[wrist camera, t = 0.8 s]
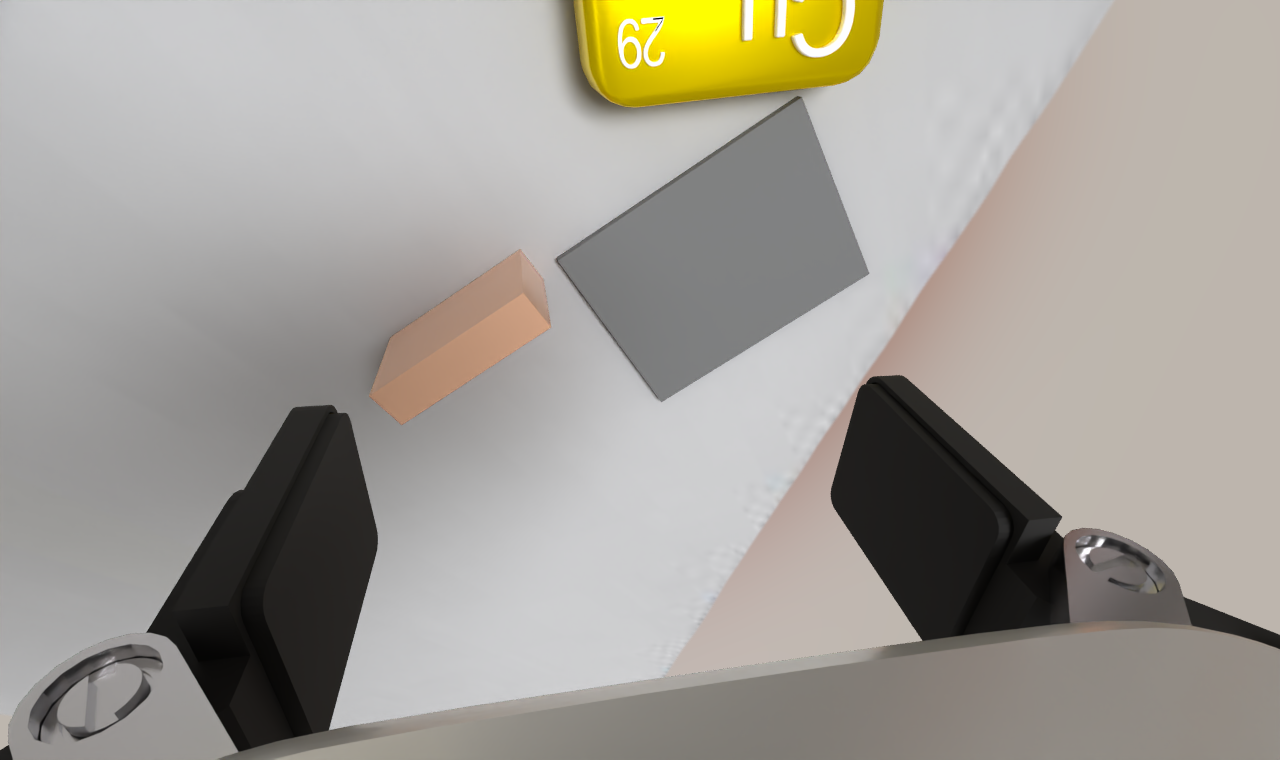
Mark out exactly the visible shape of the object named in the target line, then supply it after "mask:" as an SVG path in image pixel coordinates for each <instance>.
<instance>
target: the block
mask: <svg viewBox="0 0 1280 760" xmlns="http://www.w3.org/2000/svg"><path fill="white" fill-rule="evenodd" d="M549 328H551V323H550V317H549V310H548V304H547V298H546V291H545V285H544V279H543V278H542V277H541V275H540V274H539V273H538V271H537V270H536V269H535V268H534V266H533V265H532V264H531V262H530V261H529V260H528V258H527V257H526V256H525V254H524V253H523V252H522V251H521V249H519V250H518V251H517V252H515V253H514V254H512V255H511V256H509V257H508V258H506V259H505V260H503V261H502V262H500V263H499V264H497V265H496V266H494V267H493V268H492V269H490V270H489V271H487V272H486V273H484V274H483V275H481V276H480V277H478V278H477V279H475V280H474V281H472V282H471V283H469V284H468V285H467V286H465V287H464V288H462V289H461V290H459V291H458V292H456V293H455V294H453V295H452V296H450V297H449V298H447V299H446V300H445V301H443V302H442V303H440V304H439V305H437V306H436V307H434V308H433V309H431V310H430V311H428V312H427V313H425V314H424V315H422V316H421V317H420V318H418V319H417V320H415V321H414V322H412V323H411V324H409V325H408V326H406V327H405V328H403V329H402V330H400V331H399V332H397V333H396V334H395V335H393V336H392V337H390V340H389V342H388V345H387V348H386V351H385V353H384V356H383V359H382V362H381V364H380V367H379V370H378V373H377V375H376V378H375V381H374V383H373V386H372V389H371V392H370V394H369V397H371V398H372V399H373V400H374V401H375V402H376V403H377V404H378V405H380V406H381V407H382V408H383V409H384V410H385V411H386V412H387V413H389V414H390V415H391V416H392V417H393V418H394V419H395V420H396V421H398V422H399V423H400V424H401V425H403V424H404V423H406V422H407V421H409V420H410V419H412V418H413V417H415V416H416V415H418V414H419V413H421V412H423V411H424V410H426V409H427V408H429V407H430V406H432V405H433V404H435V403H436V402H438V401H439V400H441V399H442V398H444V397H445V396H447V395H449V394H450V393H452V392H453V391H455V390H456V389H458V388H459V387H461V386H462V385H464V384H465V383H467V382H468V381H470V380H471V379H473V378H474V377H476V376H478V375H479V374H481V373H482V372H484V371H485V370H487V369H488V368H490V367H491V366H493V365H494V364H496V363H497V362H499V361H500V360H502V359H504V358H505V357H507V356H508V355H510V354H511V353H513V352H514V351H516V350H517V349H519V348H520V347H522V346H523V345H525V344H526V343H528V342H529V341H531V340H533V339H534V338H536V337H537V336H539V335H540V334H542V333H543V332H545V331H546V330H548V329H549Z"/></svg>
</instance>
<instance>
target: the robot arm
mask: <svg viewBox="0 0 1280 760" xmlns="http://www.w3.org/2000/svg"><path fill="white" fill-rule="evenodd" d="M831 500H832V504H833V507H834V508H835V510H836V512H837V513H838V515H839V516H840V517H841V519H842V521H843V522H844V524H845V525H846V527H847V528H848V530H849V531H850V533H851V534H852V536H853V537H854V539H855V540H856V542H857V543H858V545H859V546H860V548H861V549H862V550H863V552H864V554H865V555H866V557H867V558H868V560H869V561H870V563H871V564H872V566H873V567H874V569H875V570H876V572H877V573H878V575H879V576H880V578H881V579H882V580H883V582H884V584H885V585H886V586H887V588H888V590H889V591H890V593H891V594H892V596H893V597H894V599H895V600H896V602H897V603H898V605H899V606H900V608H901V609H902V611H903V612H904V614H905V615H906V617H907V618H908V620H909V621H910V623H911V624H912V626H913V627H914V629H915V630H916V632H917V633H918V635H919V636H920V637H921V639H922V641H920V642H912V643H905V644H897V645H890V646H883V647H876V648H868V649H861V650H854V651H846V652H839V653H832V654H825V655H819V656H811V657H804V658H797V659H790V660H783V661H776V662H769V663H762V664H755V665H748V666H741V667H734V668H727V669H720V670H714V671H706V672H699V673H692V674H685V675H678V676H671V677H664V678H657V679H651V680H644V681H637V682H630V683H623V684H617V685H610V686H603V687H597V688H590V689H583V690H576V691H570V692H563V693H556V694H550V695H543V696H536V697H529V698H523V699H516V700H509V701H503V702H496V703H489V704H483V705H476V706H469V707H463V708H457V709H451V710H445V711H439V712H433V713H427V714H421V715H415V716H409V717H403V718H397V719H390V720H384V721H378V722H372V723H366V724H360V725H354V726H348V727H343V728H338V729H333V730H329V727H330V723H331V720H332V716H333V712H334V708H335V705H336V701H337V697H338V694H339V690H340V686H341V682H342V679H343V675H344V671H345V668H346V664H347V660H348V656H349V653H350V649H351V645H352V642H353V638H354V634H355V630H356V627H357V623H358V619H359V615H360V612H361V608H362V604H363V601H364V597H365V593H366V589H367V586H368V582H369V578H370V575H371V571H372V567H373V563H374V560H375V556H376V552H377V545H378V534H377V528H376V524H375V520H374V516H373V512H372V508H371V503H370V499H369V495H368V491H367V487H366V483H365V479H364V475H363V471H362V466H361V462H360V458H359V454H358V450H357V446H356V442H355V438H354V434H353V430H352V425H351V421H350V418H349V416H348V414H346V413H337V410H336V409H335V407H334V406H332V405H324V406H305V407H295V408H293V409H292V410H291V411H290V413H289V415H288V417H287V418H286V420H285V422H284V423H283V425H282V427H281V428H280V430H279V432H278V433H277V435H276V437H275V438H274V440H273V442H272V443H271V445H270V447H269V448H268V450H267V452H266V454H265V455H264V457H263V459H262V460H261V462H260V464H259V465H258V467H257V469H256V470H255V472H254V474H253V475H252V477H251V479H250V480H249V482H248V484H247V485H246V487H245V489H244V490H239V491H237V492H235V493H234V494H233V495H232V496H231V497H230V498H229V500H228V501H227V503H226V504H225V506H224V507H223V509H222V511H221V512H220V514H219V516H218V517H217V519H216V520H215V522H214V524H213V525H212V527H211V528H210V530H209V532H208V533H207V535H206V537H205V538H204V540H203V541H202V543H201V545H200V546H199V548H198V550H197V551H196V553H195V554H194V556H193V558H192V559H191V561H190V563H189V564H188V566H187V567H186V569H185V571H184V572H183V574H182V576H181V577H180V579H179V580H178V582H177V584H176V585H175V587H174V589H173V590H172V592H171V593H170V595H169V597H168V598H167V600H166V602H165V603H164V605H163V606H162V608H161V610H160V611H159V613H158V615H157V616H156V618H155V619H154V621H153V623H152V624H151V626H150V628H149V629H148V631H147V632H146V633H135V634H127V635H123V636H119V637H116V638H112V639H108V640H105V641H103V642H100V643H98V644H96V645H94V646H91V647H89V648H87V649H85V650H82V651H80V652H79V653H77V654H76V655H74V656H72V657H71V658H69V659H68V660H66V661H64V662H63V663H61V664H59V665H58V666H56V667H55V668H54V669H53V670H52V671H50V672H49V673H48V674H47V675H46V676H45V677H43V678H42V679H41V680H40V681H39V682H37V683H36V684H35V685H34V686H33V688H32V689H31V690H30V691H29V692H28V694H27V695H26V696H25V697H24V698H23V700H22V701H21V702H20V703H19V704H18V706H17V708H16V710H15V712H14V715H13V717H12V719H11V721H10V723H9V729H8V744H9V745H8V746H6V747H5V748H3V749H2V750H0V760H1280V635H1278V634H1276V633H1274V632H1271V631H1269V630H1266V629H1263V628H1261V627H1258V626H1256V625H1253V624H1251V623H1248V622H1246V621H1243V620H1241V619H1238V618H1235V617H1233V616H1230V615H1228V614H1225V613H1223V612H1220V611H1218V610H1215V609H1213V608H1210V607H1208V606H1205V605H1203V604H1200V603H1198V602H1195V601H1192V600H1190V599H1187V598H1185V597H1183V594H1182V591H1181V588H1180V584H1179V582H1178V580H1177V578H1176V576H1175V575H1174V573H1173V571H1172V570H1171V569H1170V568H1169V567H1168V566H1167V565H1166V564H1165V563H1164V562H1163V561H1162V560H1161V559H1160V558H1158V557H1157V556H1156V555H1154V554H1153V553H1152V552H1150V551H1149V550H1148V549H1146V548H1144V547H1142V546H1141V545H1139V544H1137V543H1135V542H1133V541H1132V540H1130V539H1127V538H1124V537H1122V536H1120V535H1117V534H1114V533H1111V532H1107V531H1104V530H1100V529H1092V528H1080V529H1075V530H1072V531H1070V532H1069V533H1068V534H1067V535H1065V537H1064V538H1063V537H1061V536H1060V535H1059V534H1058V533H1057V532H1056V531H1055V529H1056V527H1057V526H1058V524H1059V522H1060V520H1061V518H1062V516H1061V515H1060V514H1059V513H1057V512H1056V511H1055V510H1054V509H1053V508H1052V507H1051V506H1049V505H1048V504H1047V503H1046V502H1045V501H1044V500H1043V499H1042V498H1040V497H1039V496H1038V495H1037V494H1036V493H1035V492H1034V491H1033V490H1031V489H1030V488H1029V487H1028V486H1027V485H1026V484H1024V482H1023V481H1021V480H1020V479H1019V478H1018V477H1017V476H1016V475H1015V474H1013V473H1012V472H1011V471H1010V470H1009V469H1008V468H1007V467H1005V465H1003V464H1002V463H1001V462H1000V461H999V460H998V459H997V458H996V457H994V456H993V455H992V454H991V453H990V452H989V451H988V450H987V449H985V448H984V447H983V446H982V445H981V444H980V443H979V442H978V441H976V440H975V439H974V438H973V437H972V436H971V435H969V433H967V432H966V431H965V430H964V429H963V428H961V426H960V425H958V424H957V423H956V422H955V421H954V420H953V419H952V418H951V417H949V416H948V415H947V414H946V413H945V412H943V410H942V409H940V408H939V407H938V406H937V405H936V404H935V403H934V402H933V401H931V400H930V399H929V398H928V397H927V396H926V395H925V394H924V393H923V392H921V391H920V390H919V389H918V388H917V387H916V386H915V385H913V384H912V383H911V382H910V381H909V380H908V379H907V378H905V377H904V376H900V375H895V376H877V377H872V378H870V379H869V380H868V381H867V383H866V384H864V385H862V386H861V387H860V389H859V391H858V394H857V398H856V402H855V405H854V409H853V413H852V416H851V420H850V423H849V427H848V430H847V434H846V438H845V441H844V445H843V449H842V452H841V456H840V459H839V463H838V466H837V470H836V474H835V477H834V481H833V484H832V488H831Z"/></svg>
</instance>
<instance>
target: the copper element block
mask: <svg viewBox="0 0 1280 760" xmlns="http://www.w3.org/2000/svg"><path fill="white" fill-rule="evenodd" d="M573 1H574V10H575V19H576V27H577V36H578V45H579V53H580V62H581V66H582V69H583V72H584V74H585V76H586V78H587V80H588V82H589V84H590V86H592V87H593V88H594V89H595V90H596V91H597V92H598V93H599V94H600V95H602V96H603V97H604V98H606V99H607V100H609V101H610V102H612V103H615V104H618V105H621V106H624V107H635V108H637V107H646V106H655V105H664V104H673V103H682V102H691V101H699V100H708V99H717V98H726V97H735V96H744V95H753V94H762V93H771V92H780V91H789V90H798V89H807V88H816V87H825V86H834V85H837V84H841V83H844V82H847V81H849V80H850V79H852V78H854V77H855V76H857V75H859V74H860V73H861V72H862V71H863V69H864V68H865V67H866V66H867V65H868V64H869V62H870V60H871V58H872V56H873V53H874V51H875V49H876V47H877V43H878V40H879V36H880V27H881V19H882V11H883V2H884V0H573Z"/></svg>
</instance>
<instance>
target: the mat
mask: <svg viewBox="0 0 1280 760" xmlns="http://www.w3.org/2000/svg"><path fill="white" fill-rule="evenodd" d="M557 260H558V262H559V263H560V265H561V266H562V268H563V269H564V270H565V272H566V273H567V274H568V276H569V277H570V278H571V280H572V281H573V283H574V284H575V285H576V287H577V288H578V289H579V291H580V292H581V293H582V295H583V296H584V298H585V299H586V300H587V302H588V303H589V304H590V306H591V307H592V308H593V310H594V311H595V313H596V314H597V315H598V317H599V318H600V319H601V321H602V322H603V323H604V325H605V326H606V327H607V329H608V330H609V332H610V333H611V334H612V336H613V337H614V338H615V340H616V341H617V342H618V344H619V345H620V347H621V348H622V349H623V351H624V352H625V353H626V355H627V356H628V357H629V359H630V360H631V362H632V363H633V364H634V366H635V367H636V368H637V370H638V371H639V372H640V374H641V375H642V377H643V378H644V379H645V381H646V382H647V383H648V385H649V386H650V387H651V389H652V390H653V391H654V393H655V394H656V396H657V397H658V398H659V400H660V401H661V402H662V401H664V400H666V399H667V398H669V397H671V396H672V395H674V394H675V393H677V392H679V391H680V390H682V389H683V388H685V387H687V386H688V385H690V384H692V383H693V382H695V381H696V380H698V379H700V378H701V377H703V376H705V375H706V374H708V373H709V372H711V371H713V370H714V369H716V368H717V367H719V366H721V365H722V364H724V363H726V362H727V361H729V360H730V359H732V358H734V357H735V356H737V355H739V354H740V353H742V352H743V351H745V350H747V349H748V348H750V347H751V346H753V345H755V344H756V343H758V342H760V341H761V340H763V339H764V338H766V337H768V336H769V335H771V334H773V333H774V332H776V331H777V330H779V329H781V328H782V327H784V326H785V325H787V324H789V323H790V322H792V321H794V320H795V319H797V318H798V317H800V316H802V315H803V314H805V313H807V312H808V311H810V310H811V309H813V308H815V307H816V306H818V305H819V304H821V303H823V302H824V301H826V300H828V299H829V298H831V297H832V296H834V295H836V294H837V293H839V292H841V291H842V290H844V289H845V288H847V287H849V286H850V285H852V284H853V283H855V282H857V281H858V280H860V279H862V278H863V277H865V276H866V275H868V274H869V272H868V269H867V266H866V264H865V261H864V258H863V256H862V253H861V251H860V248H859V245H858V243H857V240H856V238H855V235H854V232H853V230H852V227H851V224H850V222H849V219H848V217H847V214H846V211H845V209H844V206H843V204H842V201H841V198H840V196H839V193H838V190H837V188H836V185H835V183H834V180H833V177H832V175H831V172H830V170H829V167H828V164H827V162H826V159H825V156H824V154H823V151H822V149H821V146H820V143H819V141H818V138H817V136H816V133H815V130H814V128H813V125H812V122H811V120H810V117H809V115H808V112H807V109H806V107H805V104H804V102H803V99H802V97H799V96H797V97H796V98H794V99H793V100H791V101H790V102H788V103H787V104H785V105H784V106H782V107H781V108H779V109H778V110H776V111H775V112H773V113H772V114H770V115H769V116H767V117H766V118H764V119H763V120H761V121H760V122H758V123H757V124H755V125H754V126H752V127H751V128H749V129H748V130H746V131H745V132H743V133H742V134H741V135H739V136H738V137H736V138H735V139H733V140H732V141H730V142H729V143H727V144H726V145H724V146H723V147H721V148H720V149H718V150H717V151H715V152H714V153H712V154H711V155H709V156H708V157H706V158H705V159H703V160H702V161H700V162H699V163H697V164H696V165H694V166H693V167H691V168H690V169H688V170H687V171H685V172H684V173H682V174H681V175H679V176H678V177H676V178H675V179H674V180H672V181H671V182H669V183H668V184H666V185H665V186H663V187H662V188H660V189H659V190H657V191H656V192H654V193H653V194H651V195H650V196H648V197H647V198H645V199H644V200H642V201H641V202H639V203H638V204H636V205H635V206H633V207H632V208H630V209H629V210H627V211H626V212H624V213H623V214H621V215H620V216H618V217H617V218H615V219H614V220H612V221H611V222H609V223H608V224H606V225H605V226H604V227H602V228H601V229H599V230H598V231H596V232H595V233H593V234H592V235H590V236H589V237H587V238H586V239H584V240H583V241H581V242H580V243H578V244H577V245H575V246H574V247H572V248H571V249H569V250H568V251H566V252H565V253H563V254H562V255H560V256H559V257H557Z"/></svg>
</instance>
